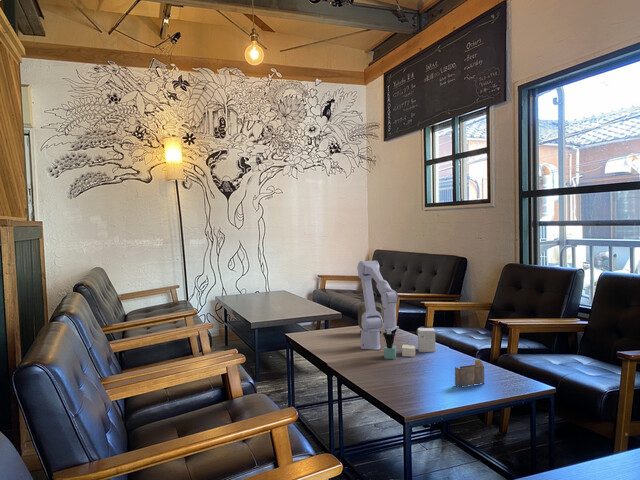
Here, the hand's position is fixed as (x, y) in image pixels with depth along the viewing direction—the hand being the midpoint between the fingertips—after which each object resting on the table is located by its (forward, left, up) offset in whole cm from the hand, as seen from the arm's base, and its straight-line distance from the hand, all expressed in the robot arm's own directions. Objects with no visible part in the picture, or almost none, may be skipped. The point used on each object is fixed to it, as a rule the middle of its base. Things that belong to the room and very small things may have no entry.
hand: (390, 346), depth 213 cm
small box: (+17, +15, -6) cm, 23 cm away
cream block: (+8, +6, -6) cm, 12 cm away
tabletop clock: (-14, +42, -6) cm, 45 cm away
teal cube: (0, 0, -6) cm, 6 cm away
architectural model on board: (+33, -31, -6) cm, 45 cm away
